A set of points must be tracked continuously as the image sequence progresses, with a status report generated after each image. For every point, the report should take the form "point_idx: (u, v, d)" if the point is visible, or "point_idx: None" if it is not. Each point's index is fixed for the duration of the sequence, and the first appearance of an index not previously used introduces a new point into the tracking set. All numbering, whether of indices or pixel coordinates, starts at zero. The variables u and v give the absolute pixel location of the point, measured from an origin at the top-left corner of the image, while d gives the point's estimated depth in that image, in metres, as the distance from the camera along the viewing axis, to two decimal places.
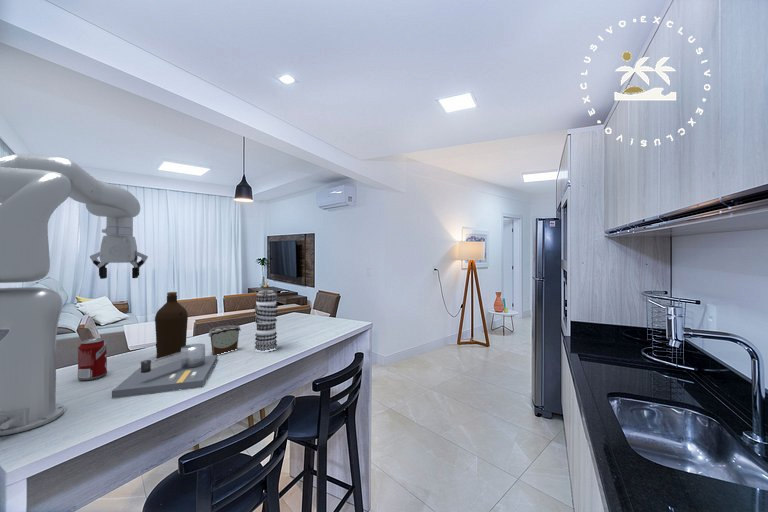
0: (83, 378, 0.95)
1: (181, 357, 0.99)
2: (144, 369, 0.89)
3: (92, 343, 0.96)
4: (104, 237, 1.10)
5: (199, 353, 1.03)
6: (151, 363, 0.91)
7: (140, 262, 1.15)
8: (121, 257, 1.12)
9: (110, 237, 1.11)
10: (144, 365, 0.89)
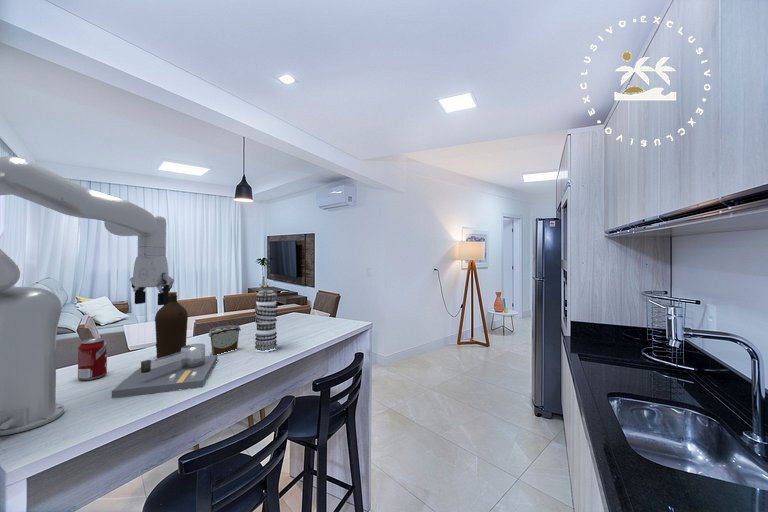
0: (83, 378, 0.95)
1: (181, 357, 0.99)
2: (144, 369, 0.89)
3: (92, 343, 0.96)
4: (136, 258, 1.00)
5: (199, 353, 1.03)
6: (151, 363, 0.91)
7: (165, 287, 0.98)
8: (147, 281, 0.98)
9: (139, 258, 0.99)
10: (144, 365, 0.89)
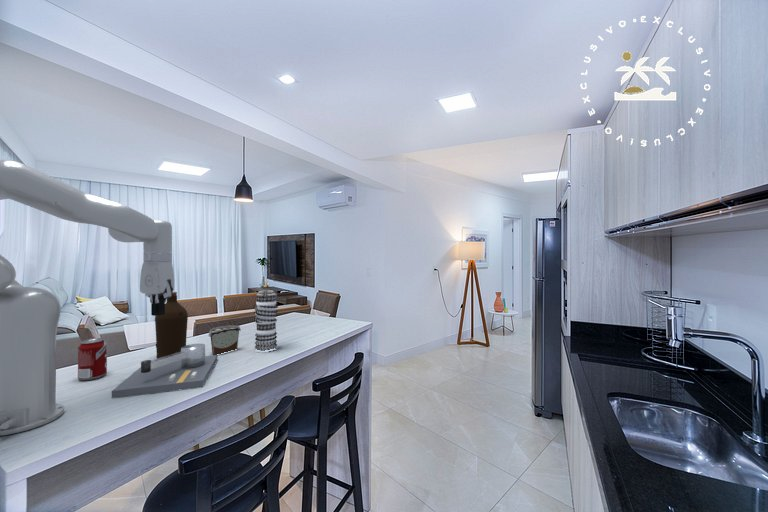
0: (83, 378, 0.95)
1: (181, 357, 0.99)
2: (144, 369, 0.89)
3: (92, 343, 0.96)
4: (142, 265, 0.98)
5: (199, 353, 1.03)
6: (151, 363, 0.91)
7: (160, 297, 0.97)
8: (152, 288, 0.96)
9: (145, 265, 0.97)
10: (144, 365, 0.89)
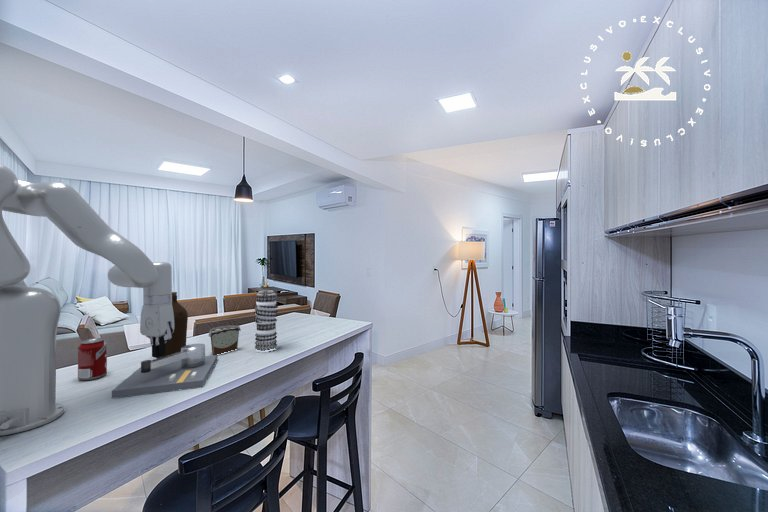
0: (83, 378, 0.95)
1: (181, 357, 0.99)
2: (144, 369, 0.89)
3: (92, 343, 0.96)
4: (142, 306, 0.98)
5: (199, 353, 1.03)
6: (151, 363, 0.91)
7: (160, 339, 0.97)
8: (152, 331, 0.96)
9: (145, 307, 0.97)
10: (144, 365, 0.89)
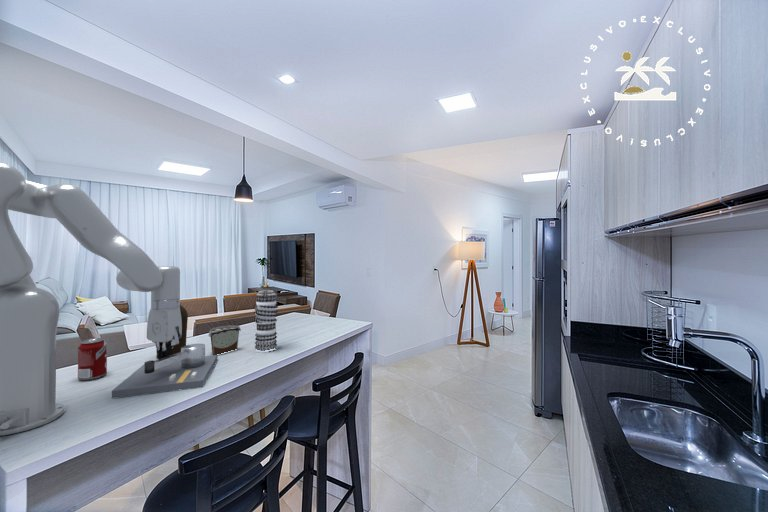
0: (83, 378, 0.95)
1: (182, 357, 0.99)
2: (148, 370, 0.89)
3: (92, 343, 0.96)
4: (150, 311, 0.96)
5: (200, 353, 1.03)
6: (155, 363, 0.90)
7: (168, 344, 0.96)
8: (160, 336, 0.94)
9: (153, 311, 0.95)
10: (148, 365, 0.89)
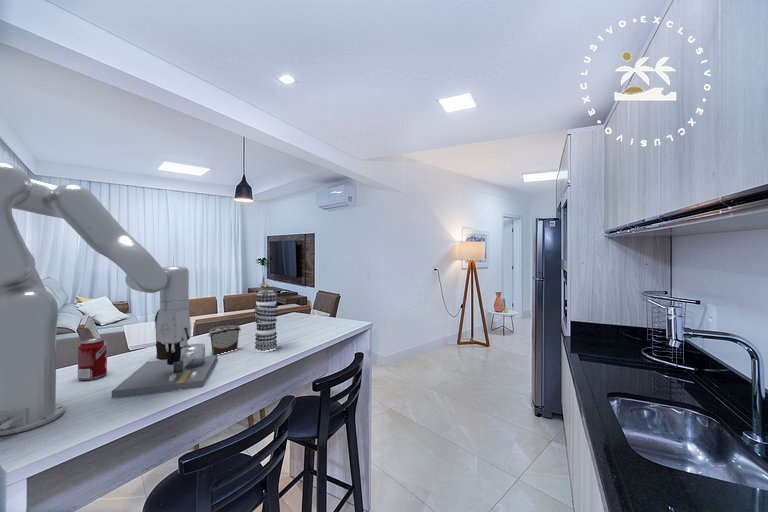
0: (83, 378, 0.95)
1: (192, 356, 1.00)
2: (180, 369, 0.89)
3: (92, 343, 0.96)
4: (158, 312, 0.95)
5: (204, 351, 1.05)
6: (183, 363, 0.91)
7: (176, 346, 0.94)
8: (168, 337, 0.93)
9: (162, 312, 0.94)
10: (180, 365, 0.89)
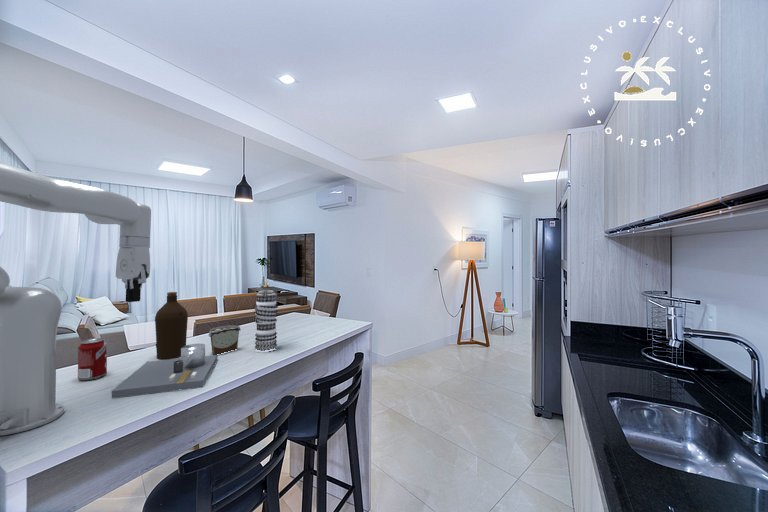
0: (83, 378, 0.95)
1: (192, 356, 1.00)
2: (180, 369, 0.89)
3: (92, 343, 0.96)
4: (119, 249, 0.95)
5: (204, 351, 1.05)
6: (183, 363, 0.91)
7: (135, 283, 0.94)
8: (126, 272, 0.92)
9: (121, 249, 0.94)
10: (180, 365, 0.89)
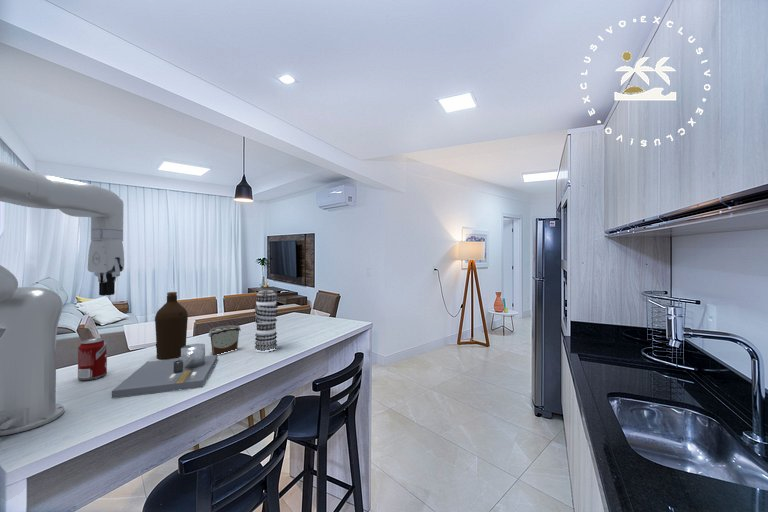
0: (83, 378, 0.95)
1: (192, 356, 1.00)
2: (180, 369, 0.89)
3: (92, 343, 0.96)
4: None
5: (204, 351, 1.05)
6: (183, 363, 0.91)
7: (108, 276, 0.93)
8: (99, 266, 0.91)
9: (93, 242, 0.93)
10: (180, 365, 0.89)
